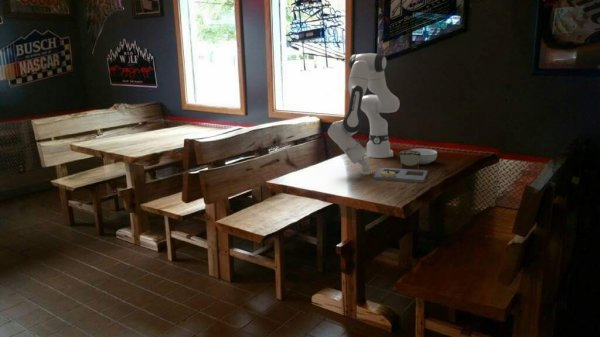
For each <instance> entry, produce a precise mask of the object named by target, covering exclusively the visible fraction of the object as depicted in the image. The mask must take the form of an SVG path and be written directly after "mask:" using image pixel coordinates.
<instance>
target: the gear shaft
mask: <svg viewBox="0 0 600 337" xmlns="http://www.w3.org/2000/svg"><path fill="white" fill-rule="evenodd" d="M361 159H362V161H363V162H365V163H366V164H367V165H366V166H365V167H363V166H362V165H361V169H359V170H358V173H359V174H360V175H368V176H369V175H372V174H373V169H370V157H368V156H366V157H362V158H361Z"/></svg>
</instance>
